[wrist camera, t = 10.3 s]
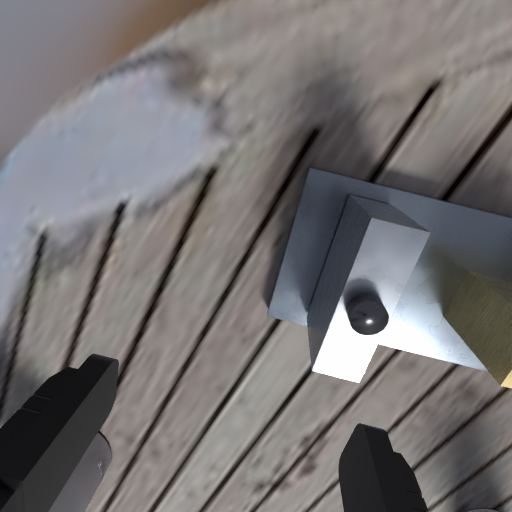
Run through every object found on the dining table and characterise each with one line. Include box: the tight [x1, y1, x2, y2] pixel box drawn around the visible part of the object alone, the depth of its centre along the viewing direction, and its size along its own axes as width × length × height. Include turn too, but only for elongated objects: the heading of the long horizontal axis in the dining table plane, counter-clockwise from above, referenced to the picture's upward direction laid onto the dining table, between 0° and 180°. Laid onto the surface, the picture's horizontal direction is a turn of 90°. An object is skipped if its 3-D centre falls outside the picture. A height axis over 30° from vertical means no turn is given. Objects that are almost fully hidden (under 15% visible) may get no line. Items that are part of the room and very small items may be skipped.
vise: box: [267, 166, 512, 372], centre depth 21 cm, size 22×12×7 cm, turn 77°
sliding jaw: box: [307, 194, 431, 383], centre depth 20 cm, size 3×10×7 cm, turn 167°
